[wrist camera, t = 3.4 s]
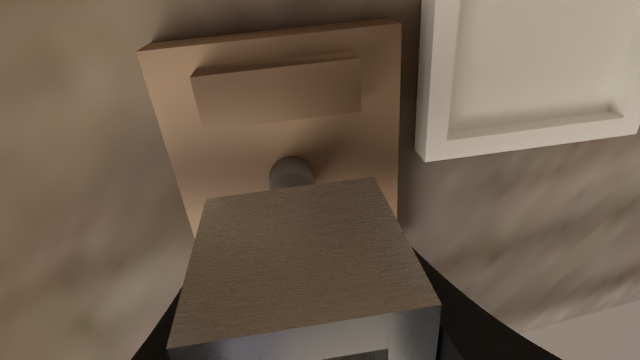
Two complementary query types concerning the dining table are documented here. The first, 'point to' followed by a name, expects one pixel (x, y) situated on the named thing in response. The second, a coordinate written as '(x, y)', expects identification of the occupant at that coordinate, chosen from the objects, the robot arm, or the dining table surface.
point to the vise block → (278, 108)
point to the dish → (525, 74)
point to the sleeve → (304, 280)
